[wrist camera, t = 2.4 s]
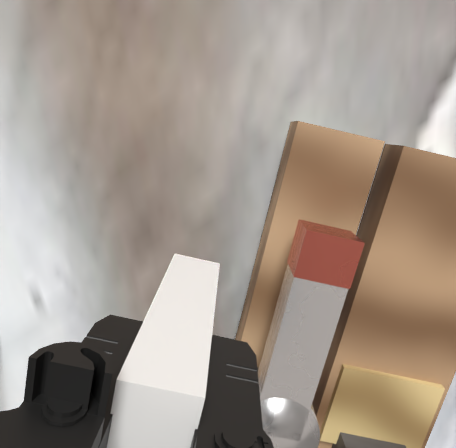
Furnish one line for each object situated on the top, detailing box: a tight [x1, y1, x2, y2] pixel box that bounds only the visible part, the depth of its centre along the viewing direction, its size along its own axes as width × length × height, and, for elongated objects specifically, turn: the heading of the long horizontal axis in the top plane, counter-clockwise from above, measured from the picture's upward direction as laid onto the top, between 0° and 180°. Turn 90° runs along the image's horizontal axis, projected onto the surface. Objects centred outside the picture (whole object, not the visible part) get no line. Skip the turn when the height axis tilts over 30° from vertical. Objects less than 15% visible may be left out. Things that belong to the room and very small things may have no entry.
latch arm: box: [258, 219, 365, 448], centre depth 20 cm, size 13×4×2 cm, turn 167°
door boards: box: [235, 121, 456, 448], centre depth 22 cm, size 20×12×6 cm, turn 167°
